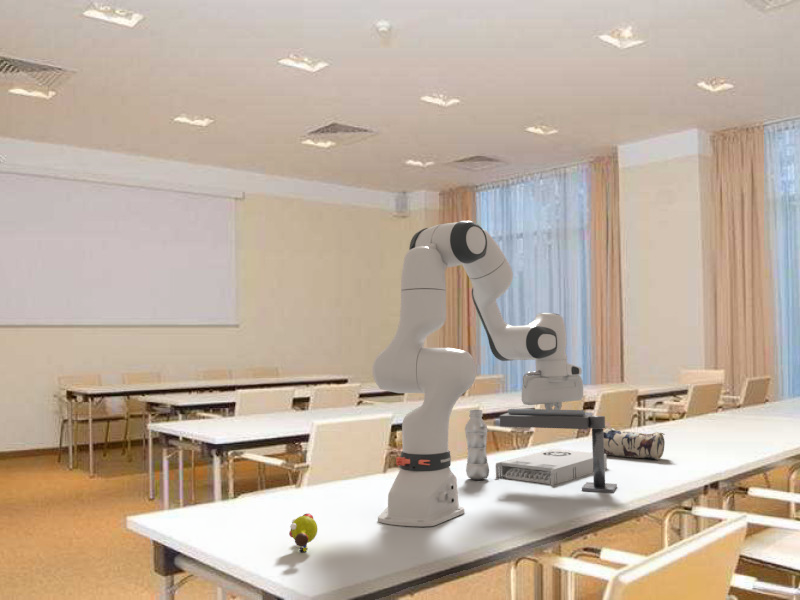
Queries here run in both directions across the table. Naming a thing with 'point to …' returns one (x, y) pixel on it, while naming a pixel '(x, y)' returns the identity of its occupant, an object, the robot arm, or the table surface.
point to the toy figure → (303, 530)
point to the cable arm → (551, 419)
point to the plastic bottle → (476, 446)
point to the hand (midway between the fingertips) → (553, 418)
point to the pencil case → (633, 444)
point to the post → (598, 465)
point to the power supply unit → (548, 466)
